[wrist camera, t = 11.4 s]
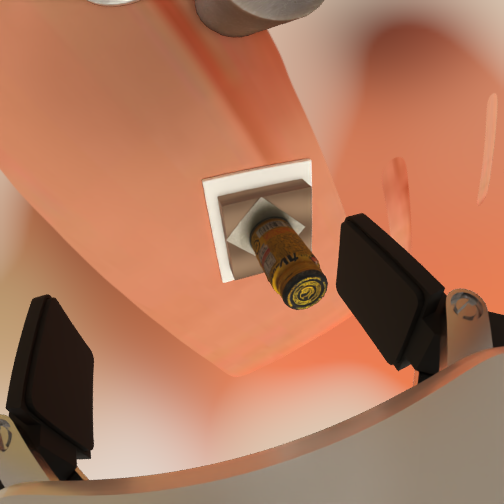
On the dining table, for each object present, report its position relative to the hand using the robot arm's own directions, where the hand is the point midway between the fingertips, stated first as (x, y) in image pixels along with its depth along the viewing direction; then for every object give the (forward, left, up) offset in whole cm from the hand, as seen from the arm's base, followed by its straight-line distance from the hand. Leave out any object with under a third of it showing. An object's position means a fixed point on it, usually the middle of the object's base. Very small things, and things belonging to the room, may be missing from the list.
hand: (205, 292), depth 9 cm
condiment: (+16, +10, -27) cm, 33 cm away
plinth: (+17, +11, -30) cm, 36 cm away
